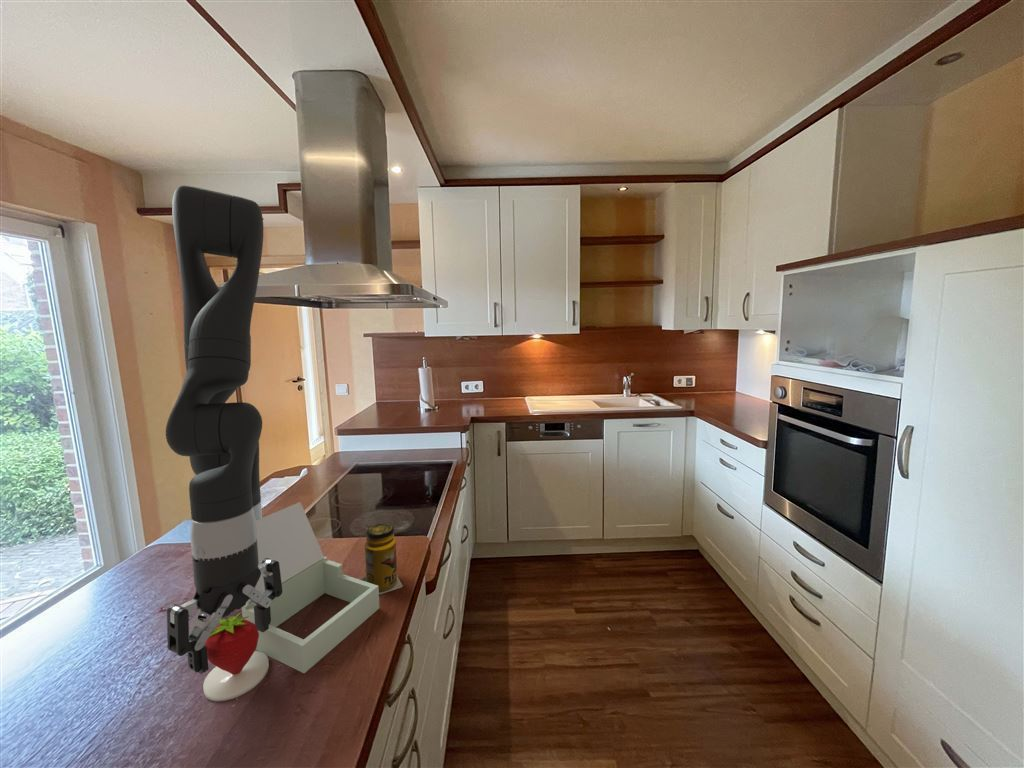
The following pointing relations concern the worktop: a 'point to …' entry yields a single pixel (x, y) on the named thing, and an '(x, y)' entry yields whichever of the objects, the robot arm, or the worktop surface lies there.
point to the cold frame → (305, 590)
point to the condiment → (381, 558)
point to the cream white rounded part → (236, 679)
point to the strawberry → (232, 644)
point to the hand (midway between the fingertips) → (233, 648)
